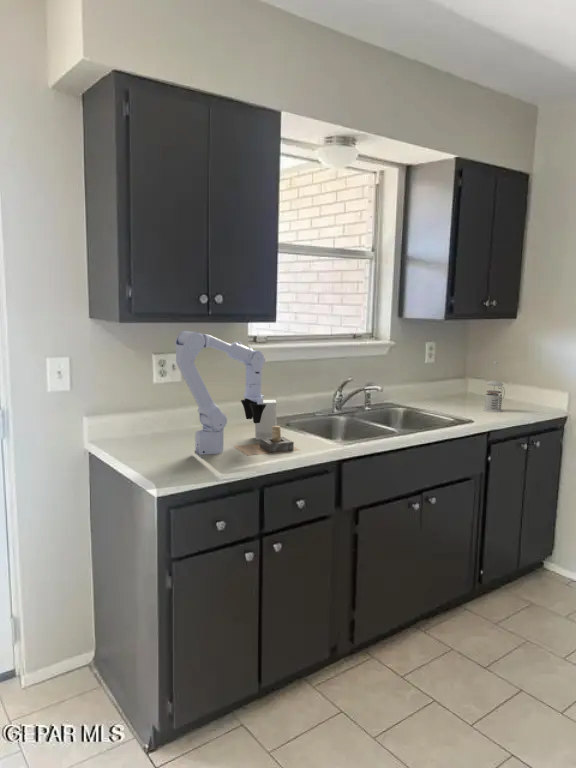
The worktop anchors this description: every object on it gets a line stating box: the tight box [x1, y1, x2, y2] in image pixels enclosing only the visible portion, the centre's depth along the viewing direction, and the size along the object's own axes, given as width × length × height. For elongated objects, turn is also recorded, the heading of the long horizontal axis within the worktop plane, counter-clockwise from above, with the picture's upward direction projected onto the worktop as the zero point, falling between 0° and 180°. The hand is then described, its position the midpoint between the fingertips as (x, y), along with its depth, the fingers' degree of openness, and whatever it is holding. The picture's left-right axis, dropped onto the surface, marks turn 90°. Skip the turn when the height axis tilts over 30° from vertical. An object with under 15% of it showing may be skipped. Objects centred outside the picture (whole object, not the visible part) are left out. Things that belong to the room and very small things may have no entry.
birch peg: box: [272, 425, 282, 442], centre depth 210 cm, size 3×3×8 cm
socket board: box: [233, 436, 300, 456], centre depth 211 cm, size 20×14×4 cm
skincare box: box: [254, 399, 278, 441], centre depth 226 cm, size 8×7×16 cm
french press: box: [482, 361, 506, 413], centre depth 298 cm, size 10×12×25 cm
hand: (252, 420), depth 213 cm, fingers open, 7 cm apart
